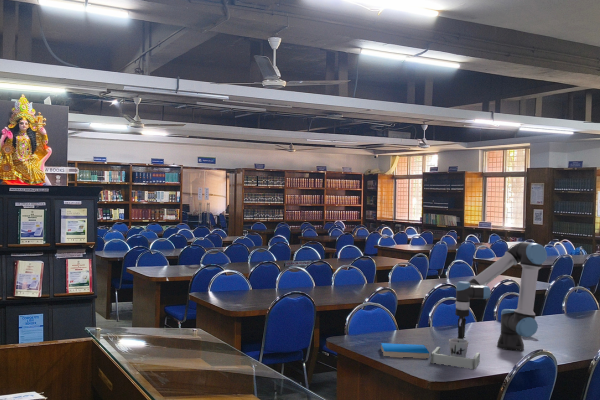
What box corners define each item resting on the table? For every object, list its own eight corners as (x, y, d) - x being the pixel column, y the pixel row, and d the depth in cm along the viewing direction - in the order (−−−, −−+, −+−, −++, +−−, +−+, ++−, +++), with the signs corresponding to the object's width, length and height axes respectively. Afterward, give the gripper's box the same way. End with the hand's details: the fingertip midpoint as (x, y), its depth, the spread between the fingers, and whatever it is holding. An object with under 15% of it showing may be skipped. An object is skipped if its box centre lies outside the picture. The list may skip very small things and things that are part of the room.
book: (429, 352, 305) (384, 350, 306) (429, 360, 305) (383, 357, 306) (423, 344, 322) (380, 342, 323) (423, 351, 322) (380, 349, 323)
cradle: (479, 361, 302) (479, 352, 302) (475, 369, 287) (475, 359, 287) (437, 355, 312) (437, 346, 312) (430, 362, 297) (430, 353, 297)
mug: (447, 359, 304) (448, 341, 304) (449, 353, 318) (450, 335, 318) (467, 362, 300) (467, 343, 300) (468, 355, 314) (469, 337, 314)
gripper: (457, 306, 325) (456, 346, 325) (453, 309, 314) (452, 351, 314) (470, 307, 322) (469, 348, 322) (467, 311, 310) (465, 353, 310)
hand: (460, 349), depth 318 cm, fingers closed
